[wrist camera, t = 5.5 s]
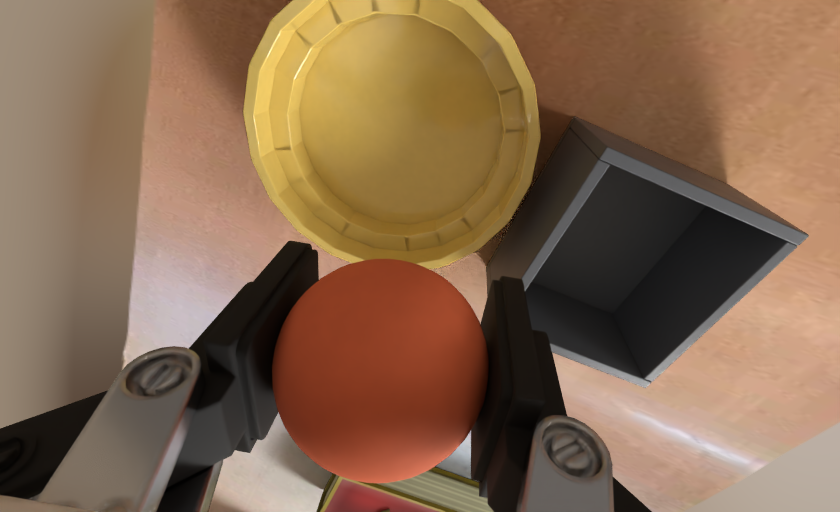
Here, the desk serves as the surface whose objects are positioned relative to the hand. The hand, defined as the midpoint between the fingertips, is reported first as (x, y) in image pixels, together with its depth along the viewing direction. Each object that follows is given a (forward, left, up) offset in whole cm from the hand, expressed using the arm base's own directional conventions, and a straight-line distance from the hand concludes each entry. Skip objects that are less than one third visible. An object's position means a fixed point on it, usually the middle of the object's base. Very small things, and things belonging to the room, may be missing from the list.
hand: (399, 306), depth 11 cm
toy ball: (0, 0, 0) cm, 0 cm away
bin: (+1, +11, -15) cm, 19 cm away
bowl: (0, -3, -15) cm, 16 cm away
